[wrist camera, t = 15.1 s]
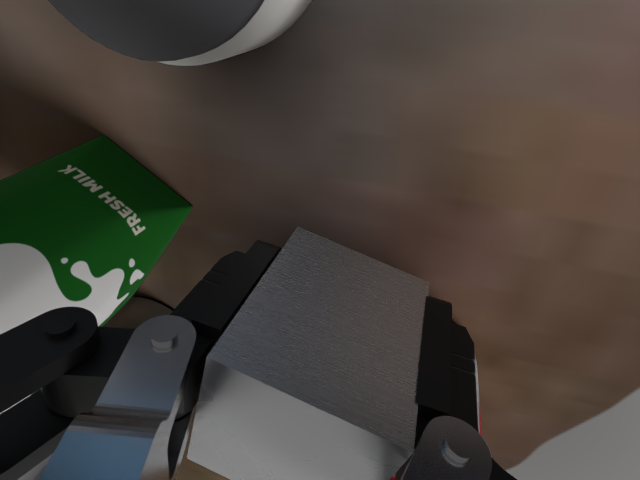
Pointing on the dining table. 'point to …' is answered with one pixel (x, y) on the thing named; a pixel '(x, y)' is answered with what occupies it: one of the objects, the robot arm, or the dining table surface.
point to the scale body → (253, 31)
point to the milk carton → (81, 232)
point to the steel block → (315, 371)
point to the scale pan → (159, 24)
